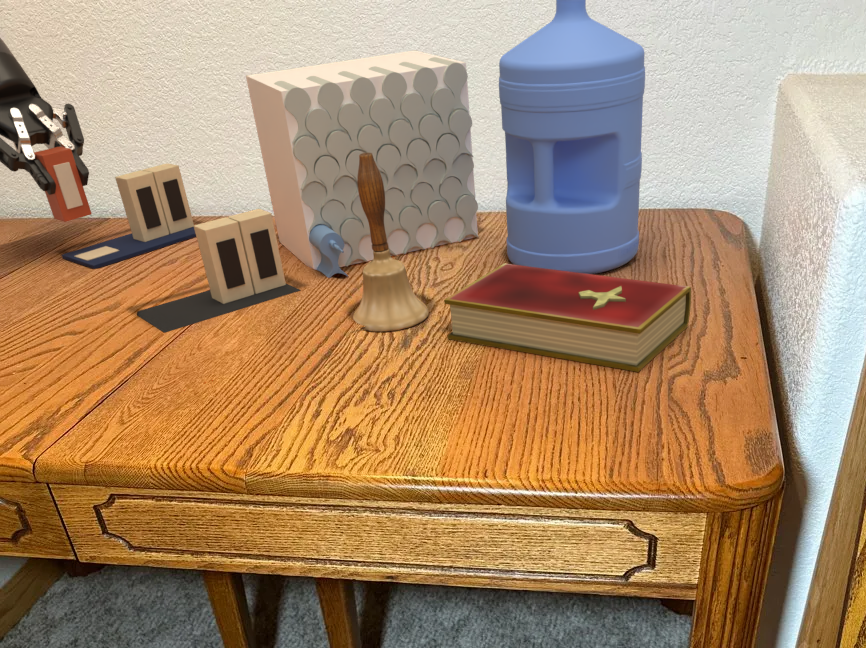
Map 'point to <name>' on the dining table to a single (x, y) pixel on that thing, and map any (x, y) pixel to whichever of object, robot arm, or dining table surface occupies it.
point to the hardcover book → (570, 315)
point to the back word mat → (144, 217)
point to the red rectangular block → (64, 184)
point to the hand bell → (383, 265)
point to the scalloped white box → (367, 133)
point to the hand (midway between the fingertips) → (69, 185)
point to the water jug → (573, 144)
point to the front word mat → (229, 271)
